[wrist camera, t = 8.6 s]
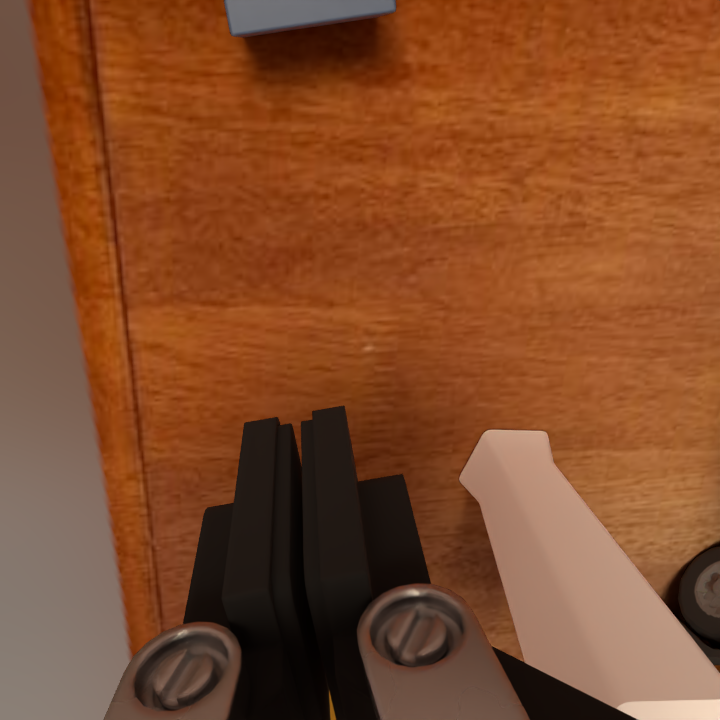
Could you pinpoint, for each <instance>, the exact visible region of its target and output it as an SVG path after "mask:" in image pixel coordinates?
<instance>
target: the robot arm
mask: <svg viewBox="0 0 720 720" xmlns="http://www.w3.org/2000/svg"><path fill="white" fill-rule="evenodd" d="M312 416H313V420H308V421H302V422H301V448H302V466H301V462H300V457H299V452H298V448H297V443H296V439H295V434H294V430H293V426H292V424H291V423H290V424H284V425H280V422H279V419H278V417H275V418H269V419H263V420H257V421H251V422H246V423H245V424H244V429H243V436H242V444H241V452H240V460H239V467H238V475H237V483H236V490H235V498H234V503H231V504H225V505H219V506H213V507H208V508H207V509H206V510H205V513H204V516H203V521H202V527H201V532H200V537H199V542H198V548H197V553H196V558H195V563H194V569H193V574H192V579H191V584H190V590H189V595H188V600H187V605H186V611H185V616H184V621H183V624H182V625H179V626H176V627H174V628H171V629H169V630H167V631H164V632H162V633H161V634H159V635H158V636H156V637H155V638H153V639H152V640H150V641H149V642H147V643H146V644H145V645H144V646H143V647H142V648H141V649H140V650H139V651H138V652H137V653H136V654H135V656H134V657H133V658H132V660H131V662H130V663H129V665H128V667H127V668H126V670H125V672H124V674H123V676H122V678H121V681H120V683H119V685H118V688H117V690H116V693H115V694H114V697H113V699H112V702H111V704H110V706H109V708H108V711H107V713H106V715H105V717H104V720H331V718H330V699H329V692H330V696H331V700H332V704H333V709H334V713H335V717H336V720H638V719H636V718H634V717H632V716H630V715H628V714H626V713H624V712H622V711H620V710H618V709H616V708H614V707H612V706H610V705H608V704H606V703H604V702H602V701H600V700H598V699H596V698H594V697H592V696H590V695H588V694H586V693H584V692H582V691H580V690H578V689H576V688H574V687H572V686H570V685H568V684H566V683H564V682H562V681H560V680H558V679H556V678H554V677H552V676H550V675H548V674H546V673H544V672H542V671H540V670H538V669H536V668H534V667H532V666H530V665H528V664H526V663H524V662H522V661H520V660H518V659H516V658H514V657H512V656H510V655H508V654H506V653H504V652H502V651H500V650H498V649H496V648H494V647H492V646H491V645H490V643H489V641H488V639H487V637H486V635H485V633H484V632H483V630H482V628H481V626H480V624H479V622H478V620H477V618H476V616H475V615H474V613H473V611H472V609H471V608H470V607H469V606H468V604H467V603H466V602H465V600H464V599H463V598H462V597H460V596H459V595H457V594H456V593H454V592H452V591H451V590H449V589H446V588H443V587H440V586H437V585H434V584H431V582H430V578H429V574H428V570H427V566H426V562H425V559H424V555H423V551H422V547H421V543H420V539H419V535H418V531H417V527H416V523H415V519H414V515H413V511H412V507H411V503H410V499H409V495H408V491H407V487H406V483H405V479H404V476H403V474H399V475H393V476H387V477H381V478H376V479H370V480H364V481H358V479H357V473H356V467H355V462H354V456H353V451H352V445H351V439H350V434H349V428H348V422H347V417H346V411H345V406H339V407H333V408H327V409H322V410H316V411H312Z"/></svg>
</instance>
